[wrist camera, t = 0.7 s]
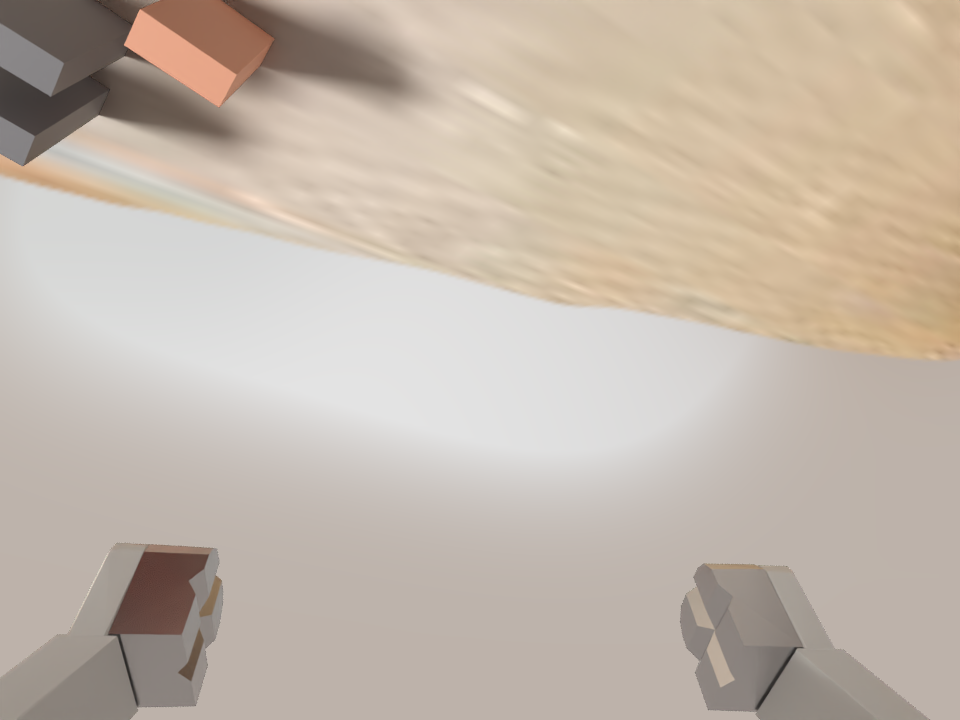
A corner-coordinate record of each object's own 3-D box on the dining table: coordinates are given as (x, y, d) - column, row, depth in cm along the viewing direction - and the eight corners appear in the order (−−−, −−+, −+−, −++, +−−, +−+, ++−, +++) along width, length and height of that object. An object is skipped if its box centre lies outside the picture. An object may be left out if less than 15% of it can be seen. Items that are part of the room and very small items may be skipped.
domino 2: (28, 39, 42) (-70, 76, 34) (109, 89, 44) (35, 136, 36) (18, 66, 43) (-80, 109, 35) (98, 115, 45) (22, 166, 37)
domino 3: (199, -16, 41) (139, 8, 33) (274, 38, 43) (236, 74, 35) (185, 14, 42) (123, 45, 34) (259, 66, 44) (219, 107, 36)
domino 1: (53, -28, 40) (-45, -6, 32) (136, 28, 42) (64, 63, 34) (42, 2, 41) (-57, 32, 33) (124, 56, 43) (50, 96, 35)
